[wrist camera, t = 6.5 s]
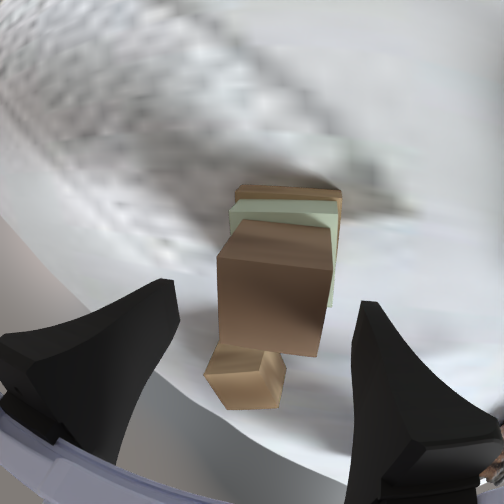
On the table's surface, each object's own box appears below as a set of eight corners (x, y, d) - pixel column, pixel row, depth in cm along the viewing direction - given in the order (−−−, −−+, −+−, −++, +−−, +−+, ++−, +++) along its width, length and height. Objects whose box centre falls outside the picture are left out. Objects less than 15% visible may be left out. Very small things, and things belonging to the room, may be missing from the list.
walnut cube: (319, 302, 15) (316, 357, 12) (241, 292, 16) (219, 343, 13) (330, 228, 14) (333, 270, 10) (242, 219, 14) (216, 256, 11)
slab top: (332, 286, 17) (331, 307, 16) (246, 281, 18) (237, 301, 17) (336, 200, 15) (338, 214, 13) (239, 199, 16) (228, 211, 14)
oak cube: (286, 367, 23) (278, 408, 20) (240, 372, 24) (226, 410, 21) (270, 329, 22) (258, 370, 18) (220, 336, 23) (203, 374, 20)
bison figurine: (540, 396, 20) (475, 415, 22) (558, 442, 14) (490, 471, 15) (497, 449, 25) (437, 465, 27) (507, 489, 19) (443, 510, 21)
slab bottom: (331, 274, 19) (331, 291, 17) (246, 266, 20) (238, 282, 19) (340, 188, 17) (342, 198, 15) (244, 182, 18) (234, 191, 16)
